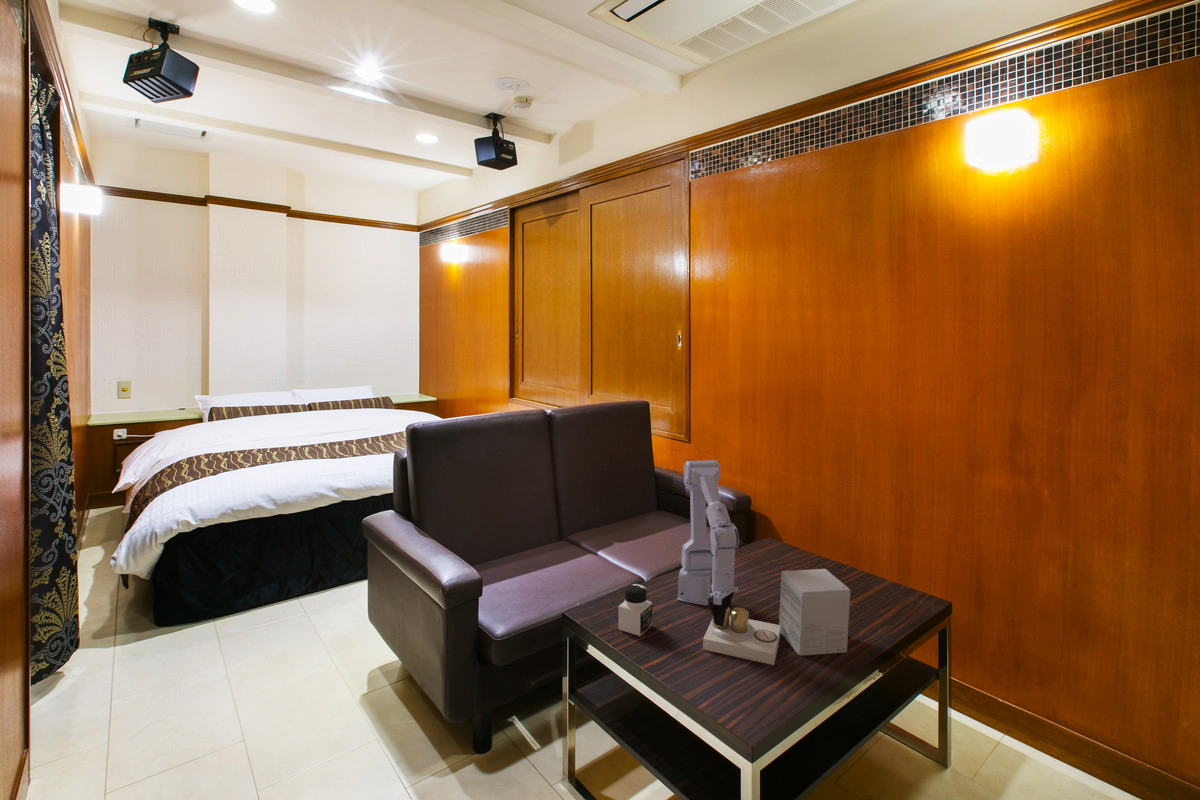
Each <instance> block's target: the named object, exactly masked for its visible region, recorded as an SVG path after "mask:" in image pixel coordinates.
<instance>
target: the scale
mask: <svg viewBox="0 0 1200 800" xmlns="http://www.w3.org/2000/svg"><path fill="white" fill-rule="evenodd" d="M781 634H782V633H781V625H779V624H776V623H771V622H765V621H762V620H761V621H760V620H756V619H750V618H748V632H746V633H742V634H740V633H735V632H733V631H732V630H731V615H730V624H729V628H728V629H725V630H720V629H716V628H715V627H713V618H711V621H710V623H709V625H708V628H707V630H706V631H705V633H704V636H703V641H702V650H704V651H708V652H713V653H717V654H722V655H726V656H731V657H736V658H740V659H744V660H749V661H754V662H759V663H764V664H768V665H771V666H772V665H773V666H774V665H775V663H776V662H775V661H776V658H777V653H778V649H779V643H780V639H781Z"/></svg>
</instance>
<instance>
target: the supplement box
mask: <svg viewBox="0 0 1200 800" xmlns="http://www.w3.org/2000/svg"><path fill="white" fill-rule="evenodd" d="M779 600H780V601H779V614H778V615H779V618H778V619H779V620H778V625H781V634H782V636H783V637H784V639H785V640H786V641H787V642H788V644H789V645H790V646H791V647H792V649H793V650H794V651H795V652H796V654H797V655H799V656H802V657H803V656H813V655H825V654H830V655H831V654H840V653H847V652H848V639H849V638H848V637H849V622H850V621H849V619H850V605H851V604H850V602H851V601H850V600H851V589H850V588H849V587H848V586H847V585H846V584H844V583H843V582H842V581H841V580H839V579H838V578H837V577H836V576H835V575H833V573H831V572H830V571H829V570H827V569H826V568H819V569H818V568H817V569H816V568H815V569H803V570H802V569H801V570H782V571H781V578H780V597H779Z"/></svg>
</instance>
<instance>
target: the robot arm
mask: <svg viewBox="0 0 1200 800" xmlns="http://www.w3.org/2000/svg"><path fill="white" fill-rule="evenodd" d="M720 477H721V465H720V463H719V462H718V460H717V459H713V460H711V459H710V460H686V461H685V463H684V465H683V483H684V484H683V485H684V486H686V487H689V494H690V496H689V498H690V500H689V501H690V503H689V504H690V507H689V508H690V539H689V540H688V541H687V542H685V543H684V544H682V546H681V557H680V561H681V567H682V568H680V570H679V573H678V582H677V583H678V587H677V589H678V590H677V601H679V602H685V603H691V604H695V605H702V606H706V607H708V606H709V608H710V610H711V614H712V619H713V618H714V623H715V625H718V626H723V624H724V620H725V615H726V611H727V609H728V607H729V608H730V609H731V603H732V600H733V596H734V593H738V591H739V587H738V586H736V585H734V584H735V561H736V560H735V557H736V549H737V548H738V547H739V544H740V535H739V531H738V527H736V525H735V524H734V522H731V518H730V515H729V512H728V509H727V506H726V504H724V503H722V502H721V498H720V493H719V488H718V483H719V480H720ZM707 505H708V506H707ZM707 521H708V524H709V529H710V534H709V537H710V539H709V540H710V541H709V540H708V539H707V535H708V534H707V532H708V531H707ZM710 591H711V592H710Z"/></svg>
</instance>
